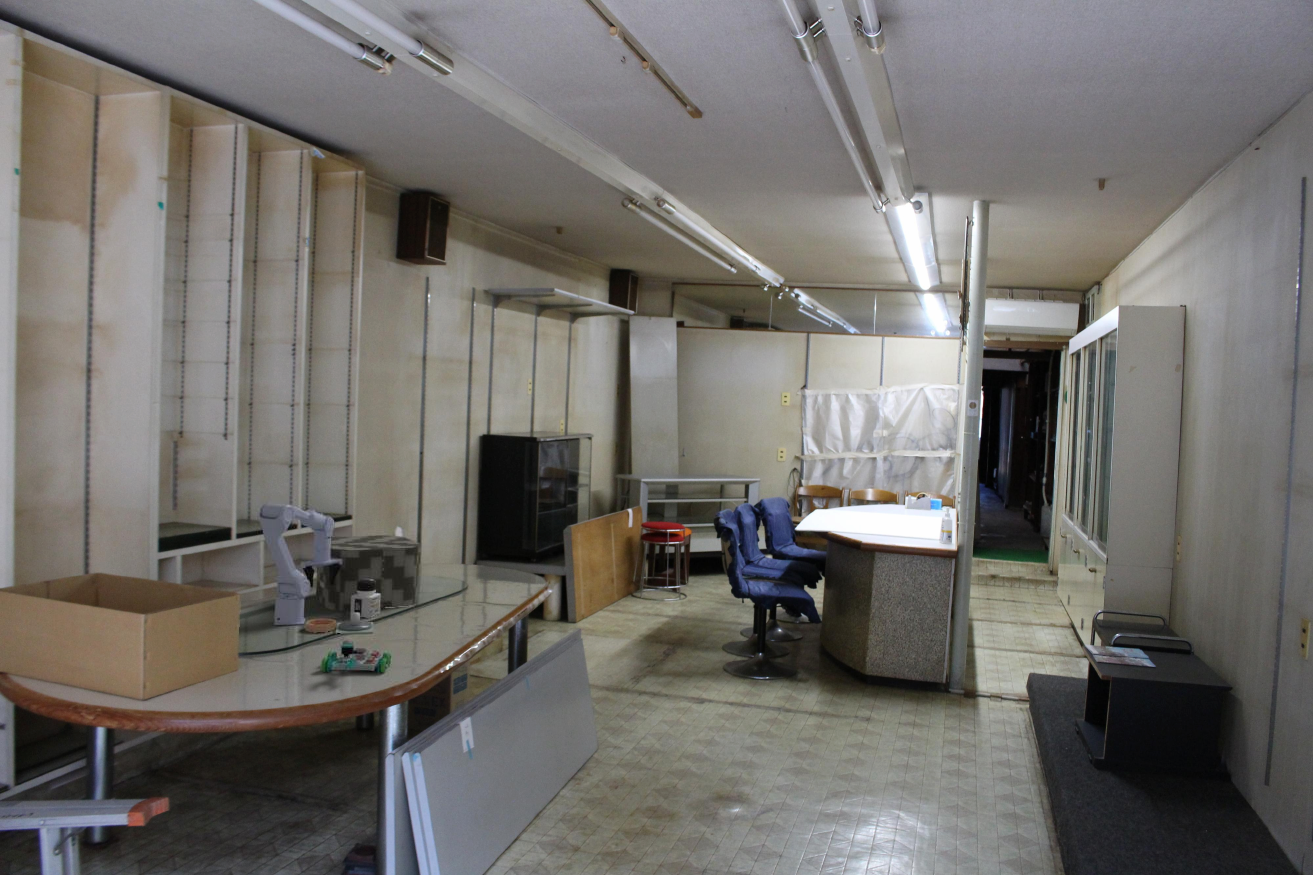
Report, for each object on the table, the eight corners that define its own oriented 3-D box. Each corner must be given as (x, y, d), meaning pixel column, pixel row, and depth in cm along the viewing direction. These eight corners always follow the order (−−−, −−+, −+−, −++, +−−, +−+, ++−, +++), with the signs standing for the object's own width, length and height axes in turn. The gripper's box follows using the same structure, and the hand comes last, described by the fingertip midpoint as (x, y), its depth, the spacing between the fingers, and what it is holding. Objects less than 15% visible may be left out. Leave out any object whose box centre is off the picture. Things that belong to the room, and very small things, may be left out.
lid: (337, 631, 302) (337, 617, 302) (338, 623, 312) (339, 610, 312) (371, 630, 305) (371, 616, 305) (371, 622, 315) (372, 609, 315)
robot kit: (307, 686, 245) (308, 652, 245) (330, 661, 270) (332, 630, 270) (377, 687, 247) (378, 654, 247) (394, 662, 272) (395, 631, 272)
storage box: (425, 606, 349) (427, 547, 348) (332, 613, 329) (335, 551, 329) (396, 589, 378) (398, 534, 377) (309, 595, 358) (311, 537, 358)
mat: (335, 634, 300) (335, 632, 300) (337, 624, 314) (337, 622, 314) (372, 633, 304) (372, 631, 304) (373, 623, 317) (373, 622, 317)
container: (369, 618, 324) (370, 582, 324) (350, 616, 326) (351, 581, 325) (380, 614, 332) (381, 579, 331) (361, 612, 333) (362, 577, 333)
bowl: (304, 633, 300) (304, 625, 300) (307, 626, 309) (307, 619, 309) (334, 632, 302) (335, 625, 302) (336, 625, 311) (336, 618, 311)
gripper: (306, 551, 319) (305, 589, 319) (346, 548, 329) (345, 585, 329) (298, 548, 324) (297, 586, 324) (338, 545, 334) (337, 581, 334)
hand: (321, 585), depth 327 cm, fingers open, 7 cm apart
